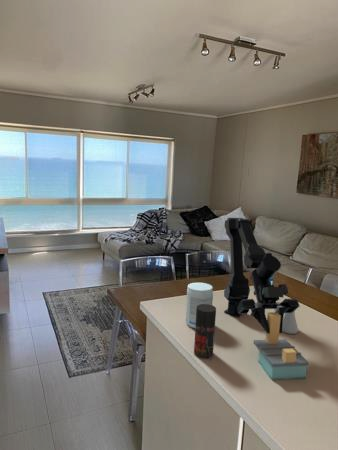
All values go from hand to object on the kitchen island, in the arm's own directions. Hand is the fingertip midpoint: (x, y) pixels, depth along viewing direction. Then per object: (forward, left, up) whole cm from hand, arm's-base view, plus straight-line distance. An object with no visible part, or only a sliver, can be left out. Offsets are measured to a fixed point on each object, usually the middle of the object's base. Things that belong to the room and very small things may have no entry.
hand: (274, 332), depth 100 cm
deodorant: (+11, -18, -9) cm, 23 cm away
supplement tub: (-6, -30, -9) cm, 32 cm away
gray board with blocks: (+3, +3, -5) cm, 6 cm away
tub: (+4, +4, -9) cm, 10 cm away
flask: (-24, -2, -9) cm, 26 cm away
